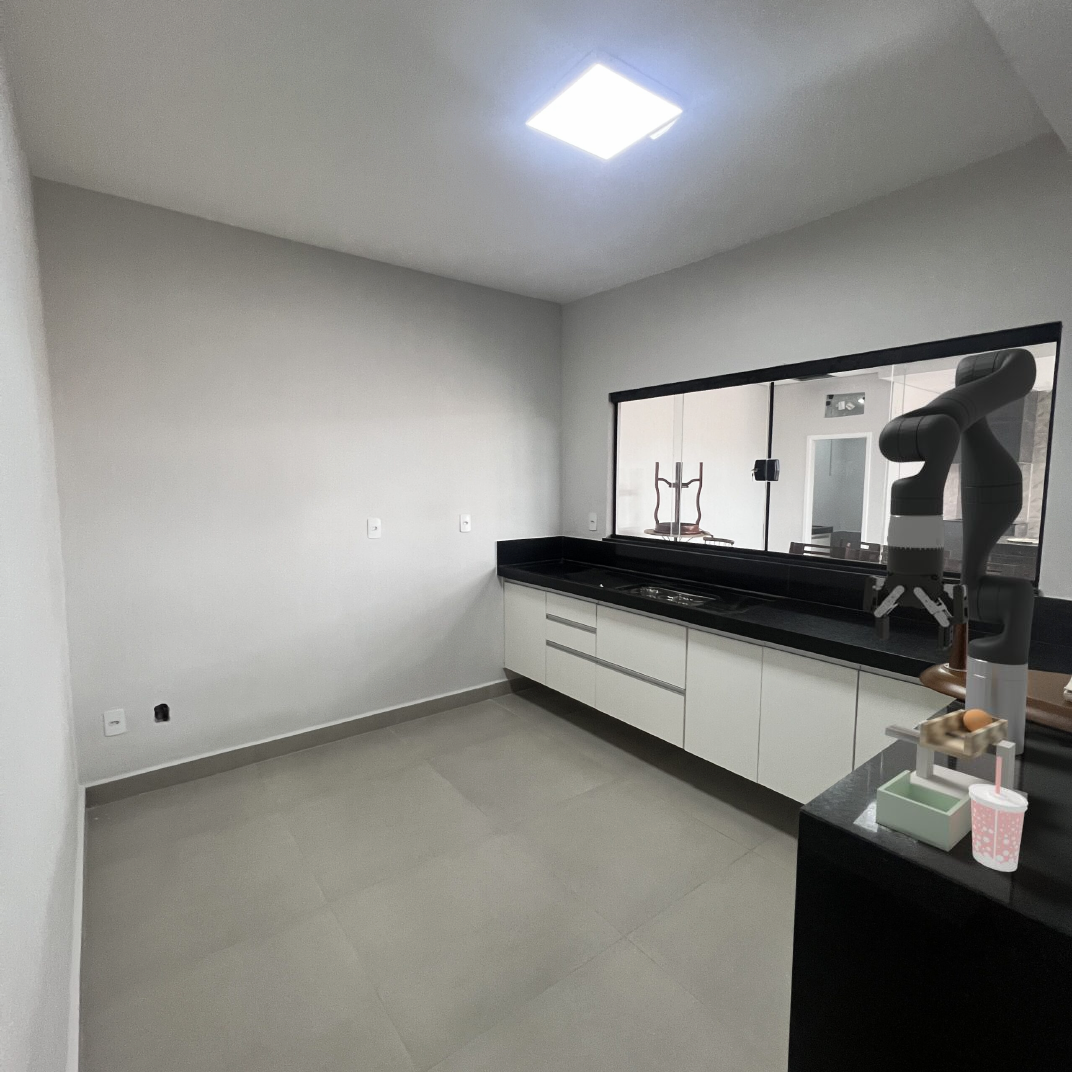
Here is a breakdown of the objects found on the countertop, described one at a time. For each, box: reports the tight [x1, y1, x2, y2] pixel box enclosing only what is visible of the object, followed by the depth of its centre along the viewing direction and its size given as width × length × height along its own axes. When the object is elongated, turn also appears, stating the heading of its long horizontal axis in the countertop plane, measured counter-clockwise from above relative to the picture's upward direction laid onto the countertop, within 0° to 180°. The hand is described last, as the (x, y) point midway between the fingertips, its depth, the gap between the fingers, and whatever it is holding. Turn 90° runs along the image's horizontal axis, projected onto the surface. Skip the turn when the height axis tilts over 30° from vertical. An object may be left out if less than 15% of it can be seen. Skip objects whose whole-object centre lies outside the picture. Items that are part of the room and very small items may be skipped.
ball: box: [963, 709, 993, 732], centre depth 98 cm, size 4×4×4 cm
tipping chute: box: [884, 708, 1008, 762], centre depth 96 cm, size 18×12×5 cm
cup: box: [875, 769, 972, 853], centre depth 86 cm, size 11×9×5 cm
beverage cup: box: [969, 757, 1029, 873], centre depth 77 cm, size 6×6×14 cm
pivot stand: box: [910, 719, 1028, 801], centre depth 95 cm, size 12×14×10 cm
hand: (912, 644), depth 94 cm, fingers open, 8 cm apart
